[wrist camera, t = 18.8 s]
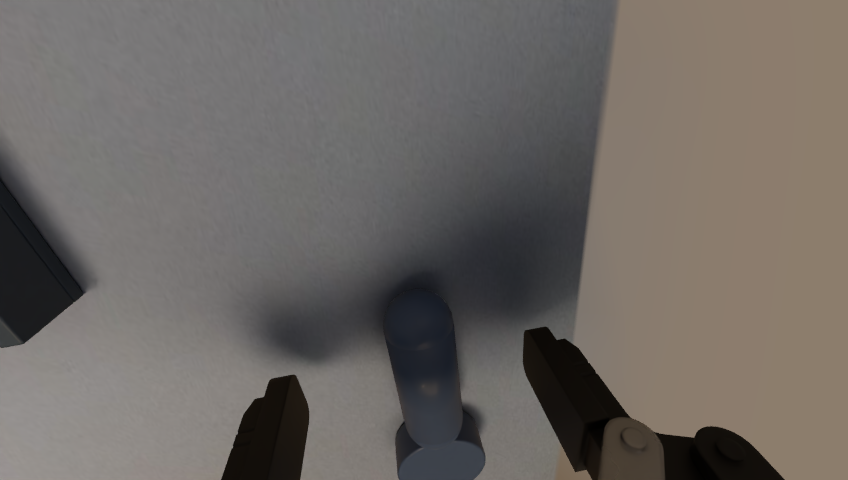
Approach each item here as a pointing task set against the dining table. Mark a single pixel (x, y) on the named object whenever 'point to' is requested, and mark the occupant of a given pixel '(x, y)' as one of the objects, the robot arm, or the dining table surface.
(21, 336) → the dark grey tray
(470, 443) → the blue spoon
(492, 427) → the dining table surface
